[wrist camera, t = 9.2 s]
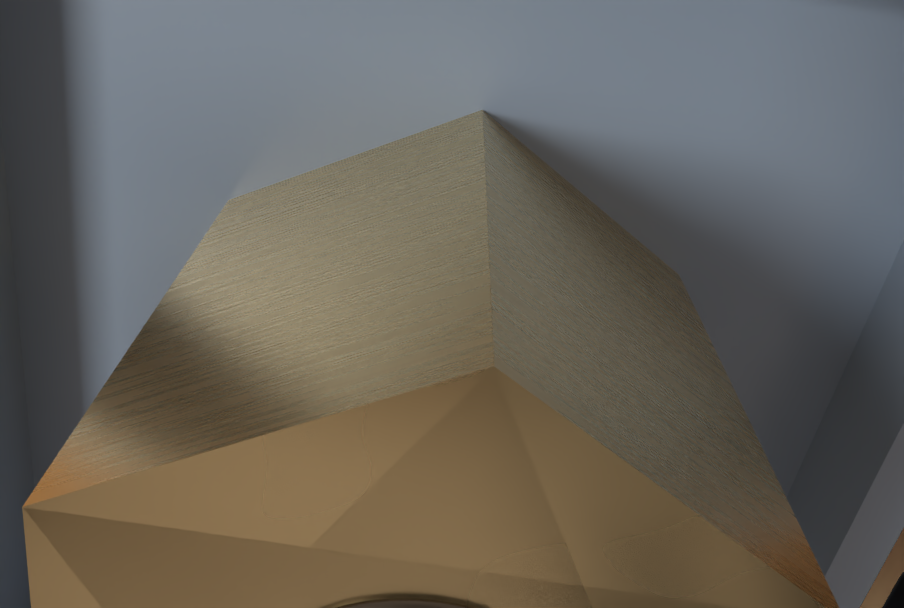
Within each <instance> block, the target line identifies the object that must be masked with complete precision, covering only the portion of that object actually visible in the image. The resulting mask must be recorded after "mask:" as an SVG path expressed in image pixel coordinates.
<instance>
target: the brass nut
mask: <svg viewBox="0 0 904 608" xmlns="http://www.w3.org/2000/svg"><path fill="white" fill-rule="evenodd" d="M22 511H23V522H24V533H25V545H26V556H27V567H28V578H29V590H30V601H31V608H839V606H838V604H837V602H836V600H835V598H834V596H833V593H832V591H831V589H830V587H829V585H828V583H827V581H826V579H825V577H824V575H823V573H822V571H821V569H820V566H819V564H818V562H817V560H816V558H815V556H814V554H813V552H812V550H811V548H810V546H809V544H808V542H807V539H806V537H805V535H804V533H803V531H802V529H801V527H800V525H799V523H798V521H797V519H796V517H795V515H794V512H793V510H792V508H791V506H790V504H789V502H788V500H787V498H786V496H785V494H784V492H783V490H782V488H781V485H780V483H779V481H778V479H777V477H776V475H775V473H774V471H773V469H772V467H771V465H770V463H769V460H768V458H767V456H766V454H765V452H764V450H763V448H762V446H761V444H760V442H759V440H758V438H757V436H756V433H755V431H754V429H753V427H752V425H751V423H750V421H749V419H748V417H747V415H746V413H745V411H744V409H743V406H742V404H741V402H740V400H739V398H738V396H737V394H736V392H735V390H734V388H733V386H732V384H731V382H730V379H729V377H728V375H727V373H726V371H725V369H724V367H723V365H722V363H721V361H720V359H719V357H718V355H717V352H716V350H715V348H714V346H713V344H712V342H711V340H710V338H709V336H708V334H707V332H706V330H705V328H704V325H703V323H702V321H701V319H700V317H699V315H698V313H697V311H696V309H695V307H694V305H693V303H692V301H691V298H690V296H689V294H688V292H687V290H686V288H685V286H684V284H683V282H682V280H681V278H680V276H679V274H677V273H676V272H675V271H674V270H673V269H671V268H670V267H669V266H668V265H667V264H665V263H664V262H663V261H662V260H661V259H660V258H658V257H657V256H656V255H655V254H654V253H652V252H651V251H650V250H649V249H648V248H646V247H645V246H644V245H643V244H642V243H640V242H639V241H638V240H637V239H636V238H635V237H633V236H632V235H631V234H630V233H629V232H627V231H626V230H625V229H624V228H623V227H621V226H620V225H619V224H618V223H617V222H615V221H614V220H613V219H612V218H611V217H609V216H608V215H607V214H606V213H605V212H604V211H602V210H601V209H600V208H599V207H598V206H596V205H595V204H594V203H593V202H592V201H590V200H589V199H588V198H587V197H586V196H584V195H583V194H582V193H581V192H580V191H578V190H577V189H576V188H575V187H574V186H573V185H571V184H570V183H569V182H568V181H567V180H565V179H564V178H563V177H562V176H561V175H559V174H558V173H557V172H556V171H555V170H553V169H552V168H551V167H550V166H549V165H548V164H546V163H545V162H544V161H543V160H542V159H540V158H539V157H538V156H537V155H536V154H534V153H533V152H532V151H531V150H530V149H528V148H527V147H526V146H525V145H524V144H522V143H521V142H520V141H519V140H518V139H517V138H515V137H514V136H513V135H512V134H511V133H509V132H508V131H507V130H506V129H505V128H503V127H502V126H501V125H500V124H499V123H497V122H496V121H495V120H494V119H493V118H491V117H490V116H489V115H488V114H487V113H486V112H484V111H483V110H481V111H478V112H475V113H472V114H469V115H466V116H464V117H461V118H458V119H455V120H452V121H450V122H447V123H444V124H441V125H438V126H436V127H433V128H430V129H427V130H424V131H422V132H419V133H416V134H413V135H410V136H407V137H405V138H402V139H399V140H396V141H393V142H391V143H388V144H385V145H382V146H379V147H377V148H374V149H371V150H368V151H365V152H363V153H360V154H357V155H354V156H351V157H348V158H346V159H343V160H340V161H337V162H334V163H332V164H329V165H326V166H323V167H320V168H318V169H315V170H312V171H309V172H306V173H304V174H301V175H298V176H295V177H292V178H289V179H287V180H284V181H281V182H278V183H275V184H273V185H270V186H267V187H264V188H261V189H259V190H256V191H253V192H250V193H247V194H245V195H242V196H239V197H236V198H233V199H230V200H228V201H227V203H226V204H225V206H224V207H223V209H222V210H221V212H220V213H219V215H218V216H217V218H216V219H215V221H214V222H213V224H212V225H211V227H210V228H209V230H208V231H207V233H206V234H205V236H204V237H203V239H202V240H201V242H200V243H199V245H198V246H197V248H196V249H195V251H194V252H193V254H192V255H191V257H190V258H189V260H188V261H187V262H186V264H185V265H184V267H183V268H182V270H181V271H180V273H179V274H178V276H177V277H176V279H175V280H174V282H173V283H172V285H171V286H170V288H169V289H168V291H167V292H166V294H165V295H164V297H163V298H162V300H161V301H160V303H159V304H158V306H157V307H156V309H155V310H154V312H153V313H152V315H151V316H150V318H149V319H148V321H147V322H146V324H145V325H144V326H143V328H142V329H141V331H140V332H139V334H138V335H137V337H136V338H135V340H134V341H133V343H132V344H131V346H130V347H129V349H128V350H127V352H126V353H125V355H124V356H123V358H122V359H121V361H120V362H119V364H118V365H117V367H116V368H115V370H114V371H113V373H112V374H111V376H110V377H109V379H108V380H107V382H106V383H105V385H104V386H103V387H102V389H101V390H100V392H99V393H98V395H97V396H96V398H95V399H94V401H93V402H92V404H91V405H90V407H89V408H88V410H87V411H86V413H85V414H84V416H83V417H82V419H81V420H80V422H79V423H78V425H77V426H76V428H75V429H74V431H73V432H72V434H71V435H70V437H69V438H68V440H67V441H66V443H65V444H64V446H63V447H62V448H61V450H60V451H59V453H58V454H57V456H56V457H55V459H54V460H53V462H52V463H51V465H50V466H49V468H48V469H47V471H46V472H45V474H44V475H43V477H42V478H41V480H40V481H39V483H38V484H37V486H36V487H35V489H34V490H33V492H32V493H31V495H30V496H29V498H28V499H27V501H26V502H25V504H24V505H23V507H22Z"/></svg>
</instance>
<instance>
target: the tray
mask: <svg viewBox="0 0 904 608" xmlns="http://www.w3.org/2000/svg"><path fill="white" fill-rule="evenodd" d="M481 110H483V111H484V112H486V113H487V114H488V115H489V116H490V117H491V118H493V119H494V120H495V121H496V122H497V123H499V124H500V125H501V126H502V127H503V128H505V129H506V130H507V131H508V132H509V133H511V134H512V135H513V136H514V137H515V138H517V139H518V140H519V141H520V142H521V143H522V144H524V145H525V146H526V147H527V148H528V149H530V150H531V151H532V152H533V153H534V154H536V155H537V156H538V157H539V158H540V159H542V160H543V161H544V162H545V163H546V164H548V165H549V166H550V167H551V168H552V169H553V170H555V171H556V172H557V173H558V174H559V175H561V176H562V177H563V178H564V179H565V180H567V181H568V182H569V183H570V184H571V185H573V186H574V187H575V188H576V189H577V190H578V191H580V192H581V193H582V194H583V195H584V196H586V197H587V198H588V199H589V200H590V201H592V202H593V203H594V204H595V205H596V206H598V207H599V208H600V209H601V210H602V211H604V212H605V213H606V214H607V215H608V216H609V217H611V218H612V219H613V220H614V221H615V222H617V223H618V224H619V225H620V226H621V227H623V228H624V229H625V230H626V231H627V232H629V233H630V234H631V235H632V236H633V237H635V238H636V239H637V240H638V241H639V242H640V243H642V244H643V245H644V246H645V247H646V248H648V249H649V250H650V251H651V252H652V253H654V254H655V255H656V256H657V257H658V258H660V259H661V260H662V261H663V262H664V263H665V264H667V265H668V266H669V267H670V268H671V269H673V270H674V271H675V272H676V273H677V274H679V276H680V278H681V280H682V282H683V284H684V286H685V288H686V290H687V292H688V294H689V296H690V298H691V301H692V303H693V305H694V307H695V309H696V311H697V313H698V315H699V317H700V319H701V321H702V323H703V325H704V328H705V330H706V332H707V334H708V336H709V338H710V340H711V342H712V344H713V346H714V348H715V350H716V352H717V355H718V357H719V359H720V361H721V363H722V365H723V367H724V369H725V371H726V373H727V375H728V377H729V379H730V382H731V384H732V386H733V388H734V390H735V392H736V394H737V396H738V398H739V400H740V402H741V404H742V406H743V409H744V411H745V413H746V415H747V417H748V419H749V421H750V423H751V425H752V427H753V429H754V431H755V433H756V436H757V438H758V440H759V442H760V444H761V446H762V448H763V450H764V452H765V454H766V456H767V458H768V460H769V463H770V465H771V467H772V469H773V471H774V473H775V475H776V477H777V479H778V481H779V483H780V485H781V488H782V490H783V492H784V494H785V496H786V498H787V500H788V502H789V504H790V506H791V508H792V510H793V512H794V515H795V517H796V519H797V521H798V523H799V525H800V527H801V529H802V531H803V533H804V535H805V537H806V539H807V542H808V544H809V546H810V548H811V550H812V552H813V554H814V556H815V558H816V560H817V562H818V564H819V566H820V569H821V571H822V573H823V575H824V577H825V579H826V581H827V583H828V585H829V587H830V589H831V591H832V593H833V596H834V598H835V600H836V602H837V604H838V606H839V608H860V606H861V604H862V602H863V601H864V599H865V597H866V595H867V593H868V591H869V590H870V588H871V586H872V584H873V582H874V581H875V579H876V577H877V575H878V573H879V572H880V570H881V568H882V566H883V564H884V562H885V561H886V559H887V557H888V555H889V553H890V552H891V550H892V548H893V546H894V544H895V543H896V541H897V539H898V537H899V535H900V534H901V532H902V530H903V528H904V0H0V608H31V601H30V590H29V578H28V567H27V556H26V545H25V533H24V522H23V511H22V507H23V505H24V504H25V502H26V501H27V499H28V498H29V496H30V495H31V493H32V492H33V490H34V489H35V487H36V486H37V484H38V483H39V481H40V480H41V478H42V477H43V475H44V474H45V472H46V471H47V469H48V468H49V466H50V465H51V463H52V462H53V460H54V459H55V457H56V456H57V454H58V453H59V451H60V450H61V448H62V447H63V446H64V444H65V443H66V441H67V440H68V438H69V437H70V435H71V434H72V432H73V431H74V429H75V428H76V426H77V425H78V423H79V422H80V420H81V419H82V417H83V416H84V414H85V413H86V411H87V410H88V408H89V407H90V405H91V404H92V402H93V401H94V399H95V398H96V396H97V395H98V393H99V392H100V390H101V389H102V387H103V386H104V385H105V383H106V382H107V380H108V379H109V377H110V376H111V374H112V373H113V371H114V370H115V368H116V367H117V365H118V364H119V362H120V361H121V359H122V358H123V356H124V355H125V353H126V352H127V350H128V349H129V347H130V346H131V344H132V343H133V341H134V340H135V338H136V337H137V335H138V334H139V332H140V331H141V329H142V328H143V326H144V325H145V324H146V322H147V321H148V319H149V318H150V316H151V315H152V313H153V312H154V310H155V309H156V307H157V306H158V304H159V303H160V301H161V300H162V298H163V297H164V295H165V294H166V292H167V291H168V289H169V288H170V286H171V285H172V283H173V282H174V280H175V279H176V277H177V276H178V274H179V273H180V271H181V270H182V268H183V267H184V265H185V264H186V262H187V261H188V260H189V258H190V257H191V255H192V254H193V252H194V251H195V249H196V248H197V246H198V245H199V243H200V242H201V240H202V239H203V237H204V236H205V234H206V233H207V231H208V230H209V228H210V227H211V225H212V224H213V222H214V221H215V219H216V218H217V216H218V215H219V213H220V212H221V210H222V209H223V207H224V206H225V204H226V203H227V201H228V200H230V199H233V198H236V197H239V196H242V195H245V194H247V193H250V192H253V191H256V190H259V189H261V188H264V187H267V186H270V185H273V184H275V183H278V182H281V181H284V180H287V179H289V178H292V177H295V176H298V175H301V174H304V173H306V172H309V171H312V170H315V169H318V168H320V167H323V166H326V165H329V164H332V163H334V162H337V161H340V160H343V159H346V158H348V157H351V156H354V155H357V154H360V153H363V152H365V151H368V150H371V149H374V148H377V147H379V146H382V145H385V144H388V143H391V142H393V141H396V140H399V139H402V138H405V137H407V136H410V135H413V134H416V133H419V132H422V131H424V130H427V129H430V128H433V127H436V126H438V125H441V124H444V123H447V122H450V121H452V120H455V119H458V118H461V117H464V116H466V115H469V114H472V113H475V112H478V111H481Z"/></svg>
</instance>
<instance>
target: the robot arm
mask: <svg viewBox="0 0 904 608" xmlns="http://www.w3.org/2000/svg"><path fill="white" fill-rule="evenodd" d="M882 608H904V572H903V573H902V575H901V576H900V577H899V579H898V581H897V583H896V584H895V586H894V588H893V590H892V592H891V593H890V595H889V597H888V599H887V600H886V602H885V604H884V606H883V607H882Z"/></svg>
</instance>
